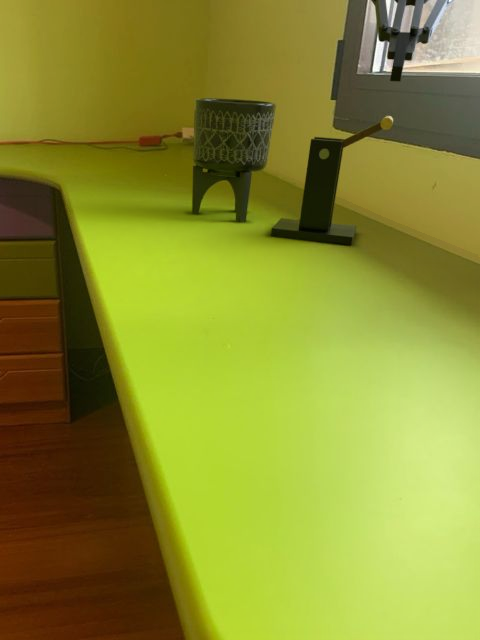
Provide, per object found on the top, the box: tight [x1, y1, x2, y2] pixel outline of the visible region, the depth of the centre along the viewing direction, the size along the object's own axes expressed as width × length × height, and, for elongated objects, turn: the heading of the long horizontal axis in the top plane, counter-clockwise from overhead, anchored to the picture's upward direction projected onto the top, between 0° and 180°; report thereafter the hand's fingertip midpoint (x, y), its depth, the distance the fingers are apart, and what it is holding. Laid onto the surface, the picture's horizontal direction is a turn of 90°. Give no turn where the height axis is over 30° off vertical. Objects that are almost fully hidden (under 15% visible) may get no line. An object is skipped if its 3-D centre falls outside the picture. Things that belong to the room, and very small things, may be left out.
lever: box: [341, 115, 394, 149], centre depth 99 cm, size 11×6×2 cm, turn 74°
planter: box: [191, 97, 277, 223], centre depth 114 cm, size 13×13×18 cm
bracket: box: [270, 136, 357, 246], centre depth 104 cm, size 12×9×14 cm
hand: (396, 73), depth 102 cm, fingers closed
